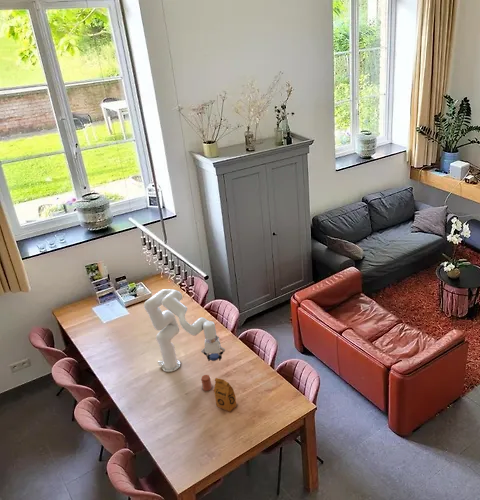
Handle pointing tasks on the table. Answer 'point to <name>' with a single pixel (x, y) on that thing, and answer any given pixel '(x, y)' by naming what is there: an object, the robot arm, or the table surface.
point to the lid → (214, 356)
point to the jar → (206, 382)
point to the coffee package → (224, 395)
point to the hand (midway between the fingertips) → (214, 359)
